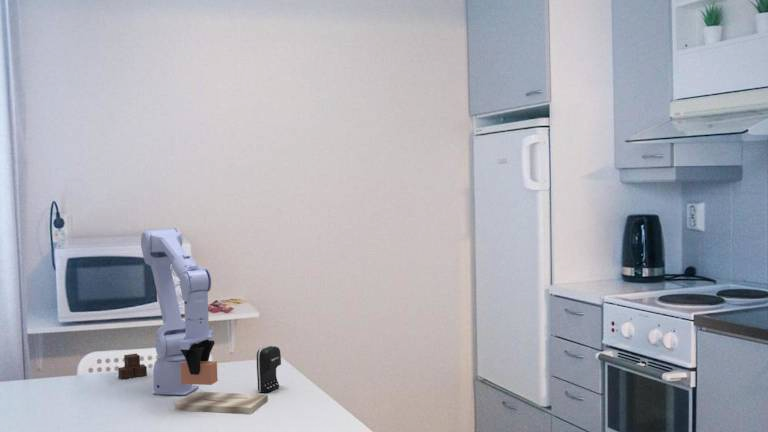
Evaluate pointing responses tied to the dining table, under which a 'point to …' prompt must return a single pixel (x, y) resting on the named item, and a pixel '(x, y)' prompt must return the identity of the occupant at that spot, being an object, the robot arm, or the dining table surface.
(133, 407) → the dining table surface
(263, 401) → the board
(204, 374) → the block
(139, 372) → the stack of crates
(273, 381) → the battery charger
